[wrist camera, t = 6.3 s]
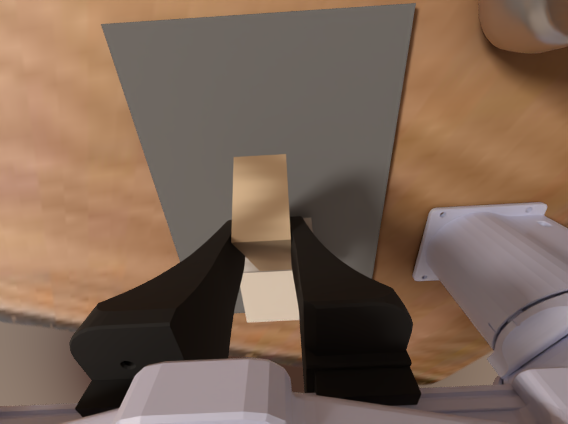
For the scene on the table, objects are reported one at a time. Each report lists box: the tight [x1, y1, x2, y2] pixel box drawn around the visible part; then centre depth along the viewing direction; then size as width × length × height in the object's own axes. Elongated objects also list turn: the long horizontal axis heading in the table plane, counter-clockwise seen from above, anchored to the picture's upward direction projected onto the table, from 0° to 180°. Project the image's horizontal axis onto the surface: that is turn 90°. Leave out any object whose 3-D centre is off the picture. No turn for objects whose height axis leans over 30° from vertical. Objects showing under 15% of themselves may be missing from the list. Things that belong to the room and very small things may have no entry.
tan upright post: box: [231, 154, 313, 273], centre depth 15 cm, size 6×10×4 cm
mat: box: [101, 3, 416, 313], centre depth 20 cm, size 18×25×1 cm
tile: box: [240, 271, 299, 322], centre depth 23 cm, size 7×2×8 cm
